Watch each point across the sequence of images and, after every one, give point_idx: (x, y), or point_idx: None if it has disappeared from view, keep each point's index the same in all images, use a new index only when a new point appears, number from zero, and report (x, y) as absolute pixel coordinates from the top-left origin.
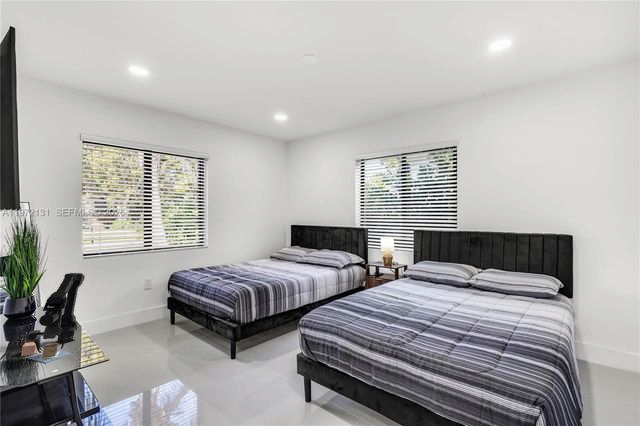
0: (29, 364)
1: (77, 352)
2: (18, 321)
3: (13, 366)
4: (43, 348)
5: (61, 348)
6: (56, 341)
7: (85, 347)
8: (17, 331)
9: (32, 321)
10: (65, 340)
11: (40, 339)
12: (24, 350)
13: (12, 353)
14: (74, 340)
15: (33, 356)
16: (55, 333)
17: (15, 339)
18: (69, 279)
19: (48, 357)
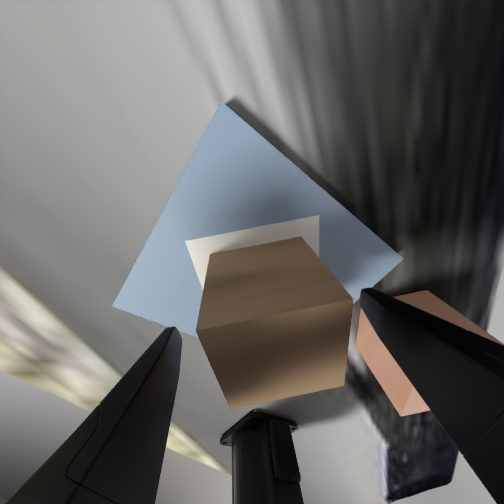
0: (367, 121)
1: (100, 331)
2: (424, 488)
3: (488, 91)
4: (345, 290)
5: (167, 332)
6: (294, 426)
7: (107, 389)
8: (429, 459)
9: (394, 493)
10: (40, 480)
11: (468, 460)
12: (452, 322)
13: None
14: (221, 438)
15: (365, 266)
16: None
17: (437, 425)
18: None
19: (251, 235)
